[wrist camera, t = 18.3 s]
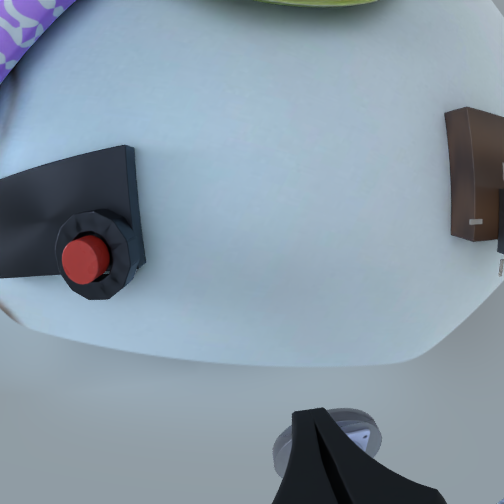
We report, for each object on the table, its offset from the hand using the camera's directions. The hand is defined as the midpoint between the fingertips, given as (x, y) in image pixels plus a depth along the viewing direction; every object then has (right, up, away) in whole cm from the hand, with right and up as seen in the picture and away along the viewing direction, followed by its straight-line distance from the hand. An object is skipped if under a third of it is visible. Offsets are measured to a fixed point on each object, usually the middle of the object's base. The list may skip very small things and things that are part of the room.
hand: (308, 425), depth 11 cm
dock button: (-12, +7, +5) cm, 15 cm away
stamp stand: (+17, +12, +8) cm, 23 cm away
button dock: (-17, +10, +8) cm, 21 cm away
